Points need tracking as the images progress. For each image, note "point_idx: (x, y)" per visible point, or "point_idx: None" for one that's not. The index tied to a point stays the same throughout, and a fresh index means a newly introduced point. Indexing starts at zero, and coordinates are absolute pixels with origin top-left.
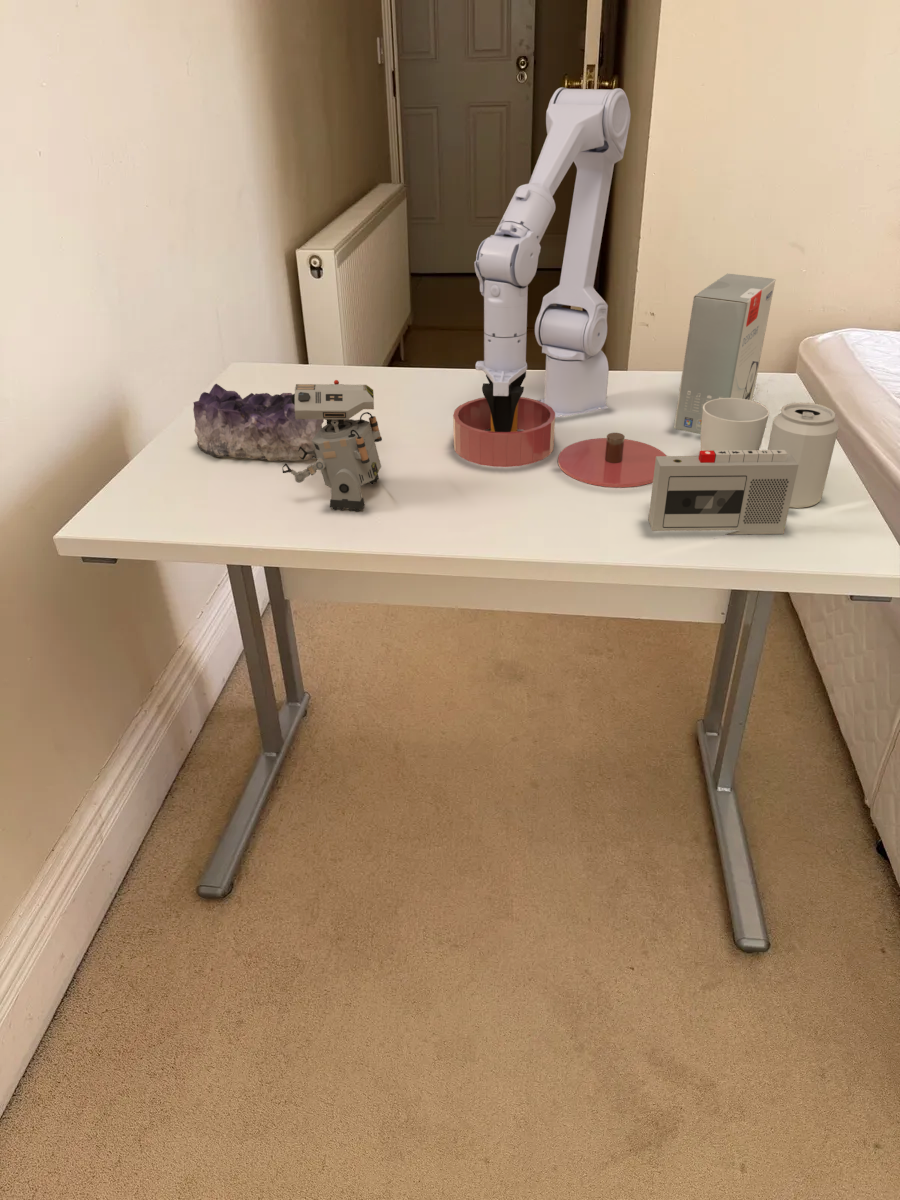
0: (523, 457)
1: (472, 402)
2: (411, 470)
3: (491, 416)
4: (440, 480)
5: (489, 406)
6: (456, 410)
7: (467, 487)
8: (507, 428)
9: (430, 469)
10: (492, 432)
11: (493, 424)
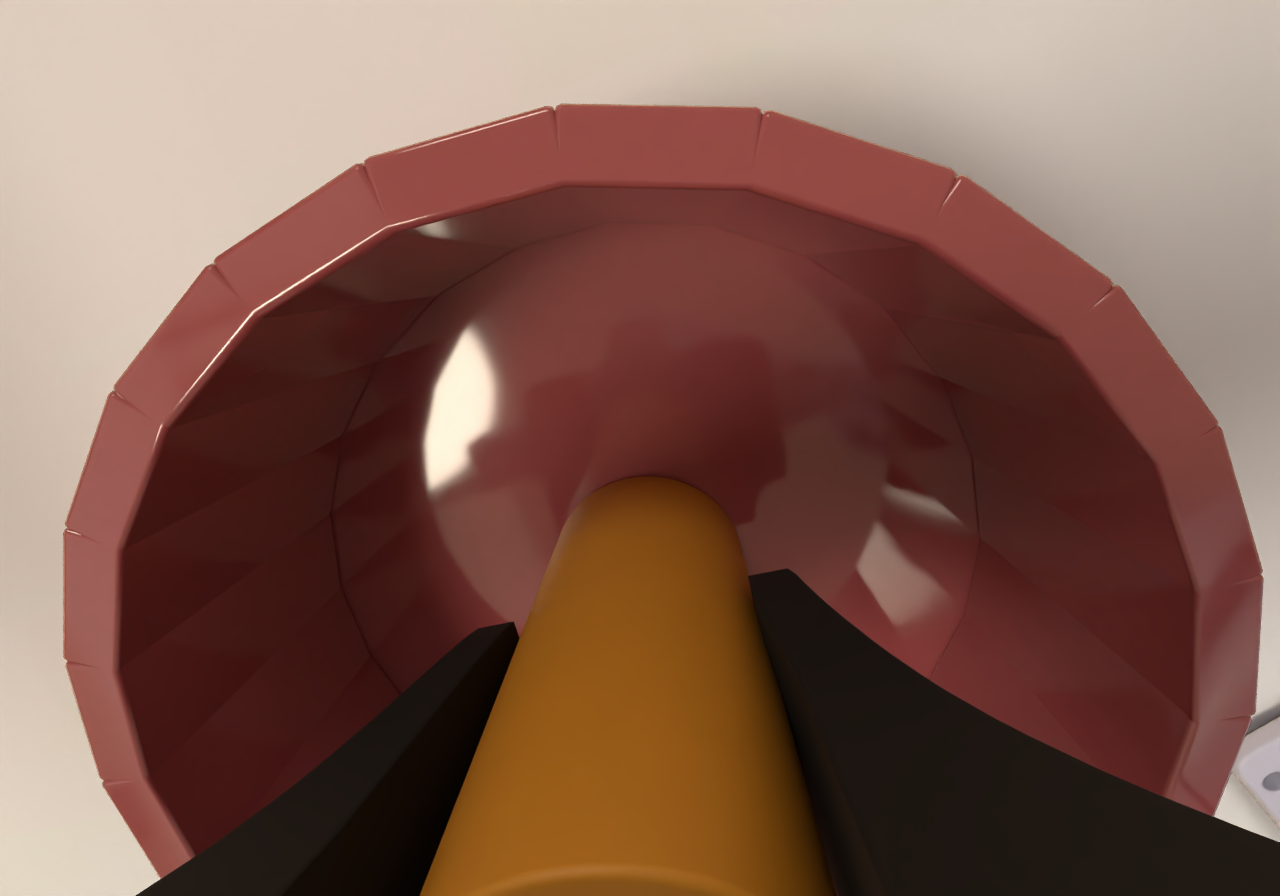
0: None
1: (949, 263)
2: (19, 7)
3: (541, 640)
4: (13, 308)
5: (176, 871)
6: (551, 138)
7: (35, 508)
8: None
9: (119, 162)
10: (117, 770)
11: (426, 673)
